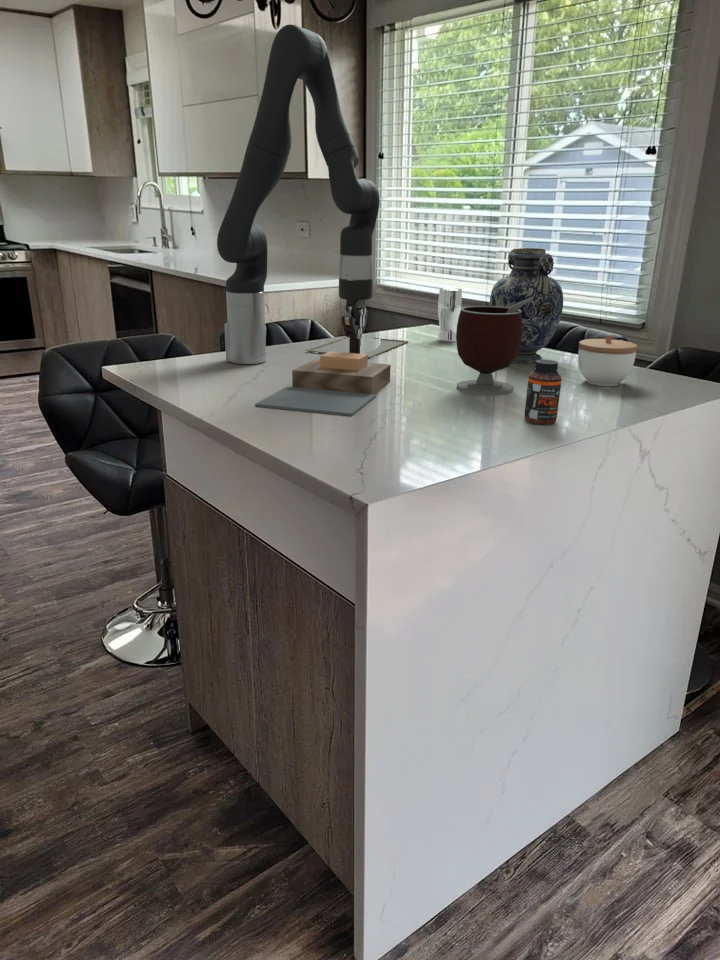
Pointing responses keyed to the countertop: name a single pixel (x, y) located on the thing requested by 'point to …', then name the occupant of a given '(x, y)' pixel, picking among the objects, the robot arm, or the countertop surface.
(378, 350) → the picture frame
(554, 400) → the supplement bottle
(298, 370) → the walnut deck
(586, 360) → the lidded bowl
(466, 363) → the mate gourd
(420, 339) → the countertop surface
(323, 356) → the tan rectangular block
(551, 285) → the decorative vase
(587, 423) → the countertop surface
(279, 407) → the slate mat
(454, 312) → the beer glass
